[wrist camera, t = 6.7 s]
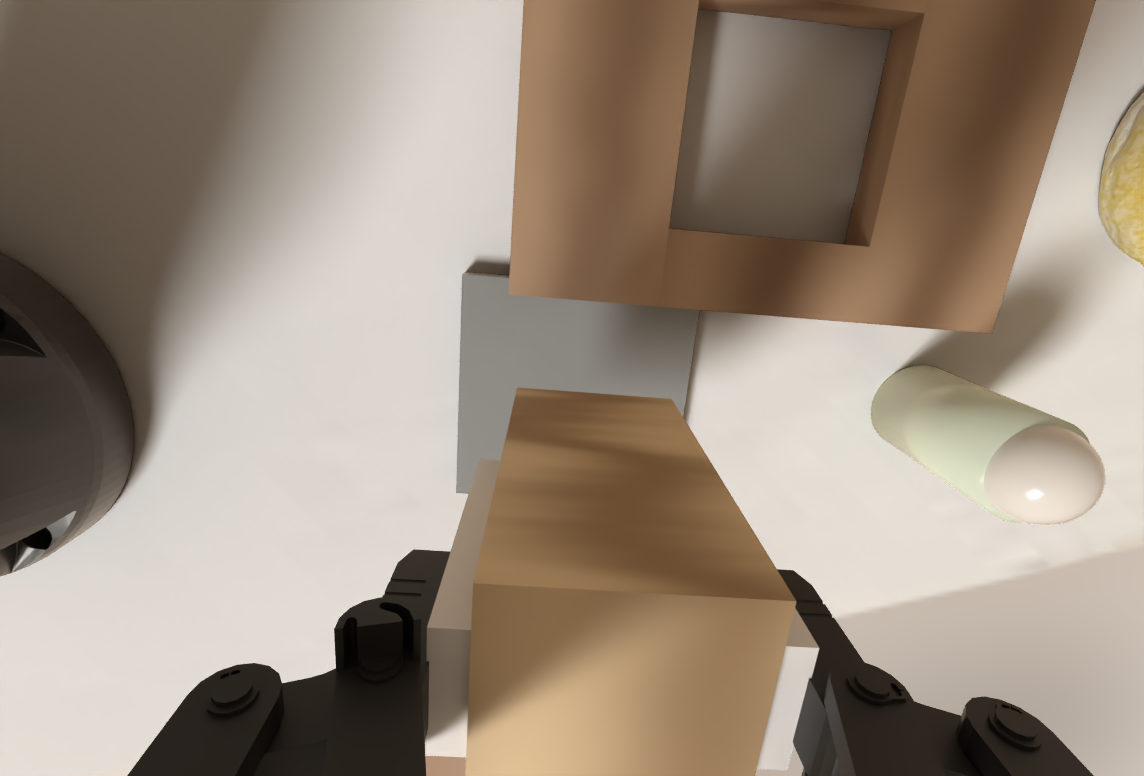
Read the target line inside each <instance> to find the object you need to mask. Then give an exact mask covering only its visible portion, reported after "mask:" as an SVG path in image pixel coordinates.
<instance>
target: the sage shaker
mask: <svg viewBox="0 0 1144 776" xmlns="http://www.w3.org/2000/svg"><path fill="white" fill-rule="evenodd" d="M871 419H872V424H873V426H874V429H875V430H876V432H877V433H878V434H879V436H880V437H882V438H883V439H884V440H885V441H887V442H888V443H890V444H891V445H893V446H894V447H896V448H897V449H899V450H900V451H901V452H903V453H904V454H906V455H907V456H909V457H910V458H912V459H913V460H914V461H916V462H917V463H919V464H920V465H922V466H923V467H925V468H926V469H927V470H929V471H930V472H932V473H933V474H935V475H936V476H938V477H939V478H941V479H942V480H943V481H945V482H946V483H948V484H949V485H951V486H952V487H954V488H955V489H956V490H958V491H959V492H961V493H962V494H964V495H965V496H967V497H968V498H969V499H971V500H972V501H974V502H975V503H977V504H978V505H980V506H981V507H983V508H984V509H985V510H987V511H988V512H990V513H991V514H993V515H994V516H996V517H998V518H1000V519H1002V520H1005V521H1009V522H1015V523H1028V524H1035V525H1056V524H1061V523H1066V522H1069V521H1072V520H1075V519H1077V518H1079V517H1081V516H1082V515H1084V514H1085V513H1087V512H1088V511H1089V510H1091V509H1092V508H1093V507H1094V506H1095V505H1096V503H1097V502H1098V500H1099V499H1100V497H1101V495H1102V493H1103V490H1104V486H1105V470H1104V466H1103V463H1102V461H1101V458H1100V456H1099V455H1098V453H1097V452H1096V450H1095V449H1094V448H1093V447H1092V446H1091V445H1090V443H1089V441H1088V438H1087V437H1086V435H1085V434H1084V433H1083V432H1082V431H1081V430H1080V429H1079V428H1078V427H1076V426H1075V425H1073V424H1071V423H1069V422H1066V421H1064V420H1062V419H1059V418H1057V417H1054V416H1052V415H1049V414H1047V413H1044V412H1042V411H1040V410H1037V409H1035V408H1032V407H1030V406H1027V405H1025V404H1023V403H1020V402H1018V401H1015V400H1013V399H1010V398H1008V397H1006V396H1003V395H1001V394H998V393H996V392H993V391H991V390H989V389H986V388H984V387H981V386H979V385H976V384H974V383H971V382H969V381H967V380H964V379H962V378H959V377H957V376H954V375H952V374H950V373H947V372H945V371H942V370H940V369H937V368H935V367H931V366H926V365H918V366H912V367H908V368H905V369H902V370H900V371H898V372H896V373H895V374H893V375H892V376H891V377H889V378H888V379H887V380H886V381H885V382H884V383H883V384H882V385H881V387H880V388H879V390H878V391H877V393H876V395H875V397H874V400H873V403H872V407H871Z"/></svg>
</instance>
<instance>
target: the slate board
mask: <svg viewBox="0 0 1144 776" xmlns="http://www.w3.org/2000/svg"><path fill="white" fill-rule="evenodd" d="M508 294H509V276H506V275H494V274H482V273H470V272H465V273H463V274H462V304H461V340H460V376H459V412H458V449H457V485H456V493H467V494H469V491H470V488H471V485H472V482H473V478H474V475H475V472H476V469H477V466H478V462H479V459H485V460H499V461H501V457H502V452H503V448H504V443H505V439H506V434H507V430H508V426H509V421H510V417H511V412H512V408H513V403H514V399H515V395H516V390H517V387H518V388H531V389H545V390H558V391H572V392H586V393H599V394H613V395H626V396H640V397H653V398H667V399H672V400H673V402H674V404H675V405H676V407H677V408H678V410H679V412H680V413H681V415H682V417H683V415H684V408H685V402H686V395H687V389H688V382H689V376H690V369H691V363H692V356H693V350H694V343H695V337H696V330H697V324H698V317H699V311H700V310H694V309H682V308H669V307H657V306H645V305H632V304H620V303H607V302H595V301H583V300H570V299H558V298H545V297H533V296H521V295H508Z"/></svg>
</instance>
